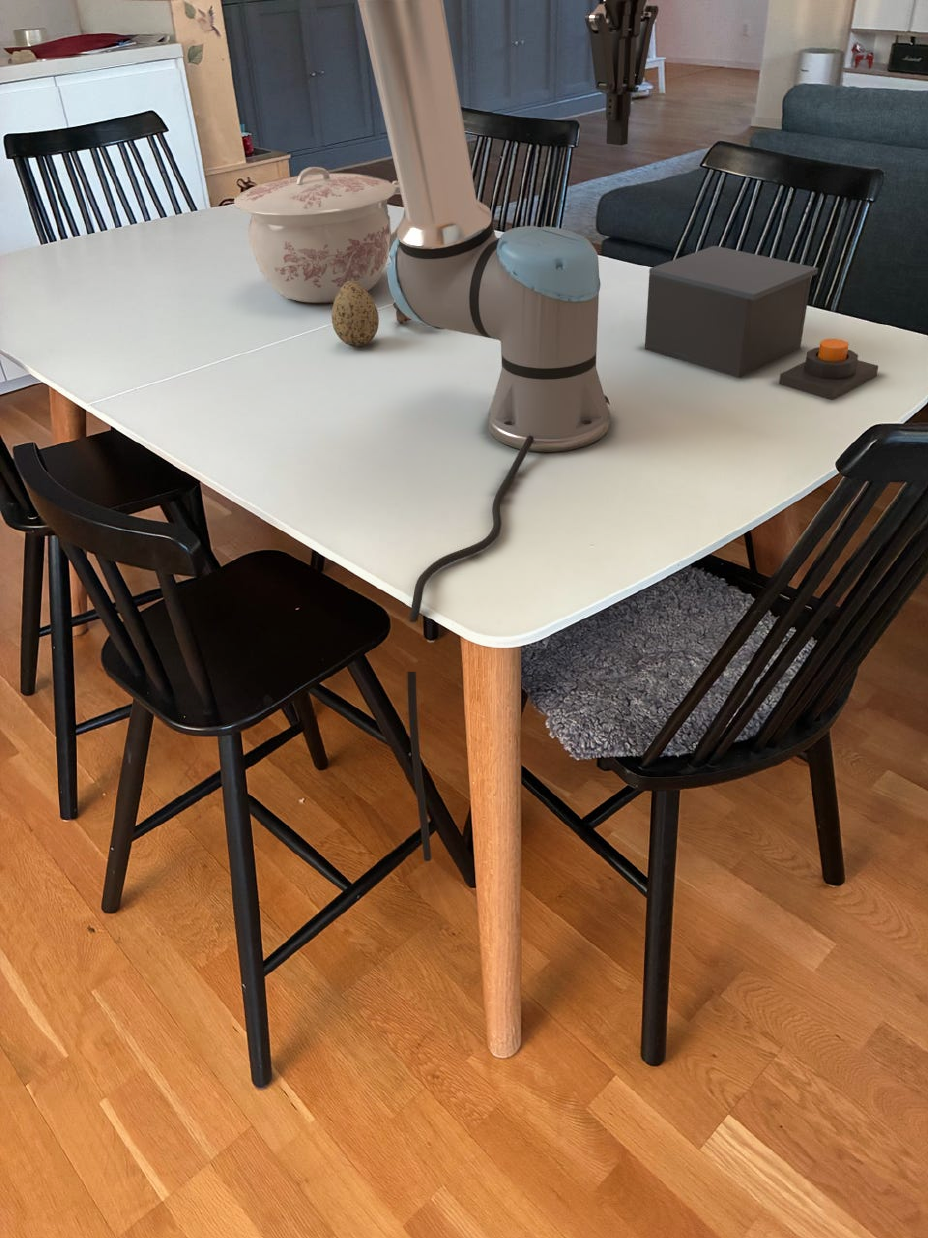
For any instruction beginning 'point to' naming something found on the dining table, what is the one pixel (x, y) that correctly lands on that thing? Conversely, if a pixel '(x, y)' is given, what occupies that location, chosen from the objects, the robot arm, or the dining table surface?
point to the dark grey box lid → (734, 272)
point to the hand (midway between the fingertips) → (616, 143)
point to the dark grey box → (724, 325)
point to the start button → (833, 350)
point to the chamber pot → (320, 231)
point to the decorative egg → (354, 315)
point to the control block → (828, 375)
